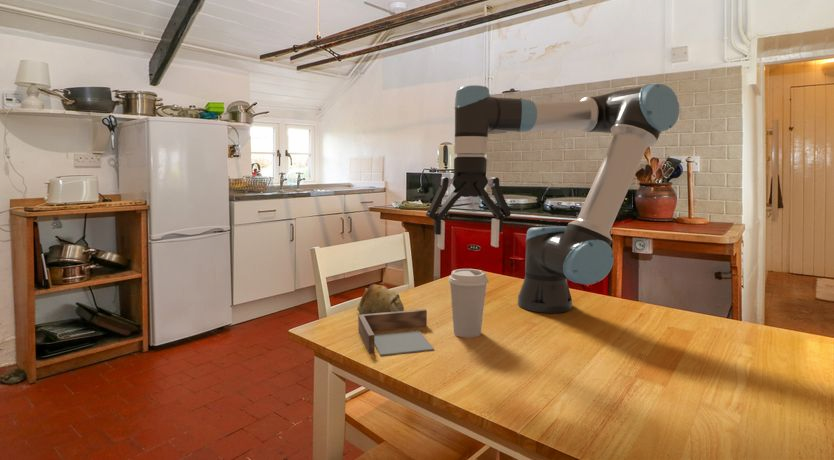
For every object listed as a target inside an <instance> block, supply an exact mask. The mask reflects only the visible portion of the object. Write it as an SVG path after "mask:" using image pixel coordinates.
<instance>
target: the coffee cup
mask: <svg viewBox="0 0 834 460" xmlns="http://www.w3.org/2000/svg"><path fill="white" fill-rule="evenodd" d="M447 281H448V283H449V286H450V297H451V300H450V301H451V309H452V310H451V311H452V324H453V325H452V326H453V333H454V335H455V336H457V337H459V338H466V339H469V338H470V339H473V338H477V337H480V335H481V334H482V325H483V317H484V308H485V307H484V306H485V300H486V299H485V298H486V289H487V284H489V279H488V276H487V275H486V271H484V270H481V269H474V268H458V269H454V270H452V271H451V274H450V275H449V276H448V280H447Z"/></svg>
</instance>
